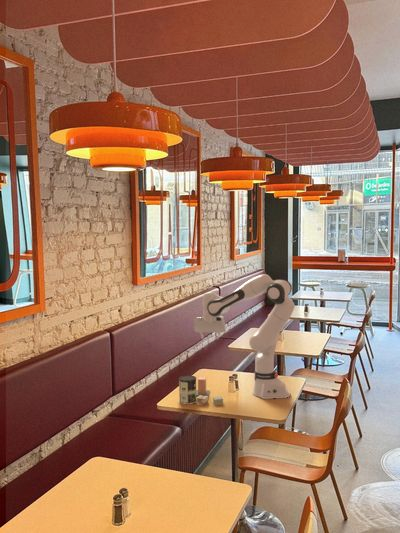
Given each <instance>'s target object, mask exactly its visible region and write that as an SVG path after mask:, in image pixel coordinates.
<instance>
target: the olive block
mask: <svg viewBox="0 0 400 533" xmlns="http://www.w3.org/2000/svg"><path fill="white" fill-rule="evenodd" d="M212 397H213V398H212V403H213V405H214V406H222V405H224V398H223V395H222V396H221V395H216V396H212Z"/></svg>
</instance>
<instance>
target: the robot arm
mask: <svg viewBox="0 0 400 533" xmlns="http://www.w3.org/2000/svg"><path fill="white" fill-rule="evenodd" d="M292 287H293V286H292V284H291V282H290V281H288V280H286V279H283V278H282V279H281V278H275V279H274V280H273V279H272V277H270V275H268V274H266V273H263V274H259V275H258V276H255V277H252V278H251V279H249V280H247V281H245V282H244V283H243V284H242V285H240V286H239V287H238V288H237V289H235V290H234V291H233V292H231V293H229V294H227V295H225V296H221V295H219V294H218V293H216V292H215V291H209V292H206V293H204V294H203V297H202V308H203V310H202V316H201V317H197V316H196V317H195V318H193V331H194V332H195V333H199V335H200V337H201V340H204V339H205V336H204V335H203V333H217V334H218V335H216V337H215V338H216V340H219V338H220V335H221V333H225V332H226V330H227V325H226V322H225V320H224V319H225V318H224V316H223V315H222V314H225V313H228V312H229V311H230V310H231V308H232V305H234V304H237V303H240V302H244V301H249V300H253V299H256V298H257V297H260V296H262V295H263V294H265V293H266V296H267V298H268V299H269V300H270V301H271V302H272V303H273V304H274V306H273V308H272V309H271V311H270V313H269V315H268V316H267V318H266V319H265V320H264V321H263V323H262V324H261V325H260V326H259V328H257V330H256V331H255V332H254V334H253V335H252V336H251V337H250V339H249V340H248V341H249V347H250V349H252V350H253V351H255V352H257V353H256V356H255V358H254V359H255V360H254V361H255V362H254V363H255V364H254V366H255V370H254V373H253V374H254V377H253V378H254V387H253V389H252V390H253V392H252V395H253V396H255V397H259V398H261V399H263V400H270V399H271V400H272V399H273V398H276V399H288V398H290V397H291V392H290V390H288V389H287V386H286V384H285V382H284V381H283V380H281V379H280V378H279V377H278V376H279V374H278V373H277V370H274V368H275V367H274V365H275V364H274V363H275V362H274V359H275V353H276V347H277V344H278V342H279V337H280V336H279V334H280V332H282V331H283V329H284V327H285V326H286V324H287V322H288V321H289V320H290V318H291V316H292V314H293V312H294V310H295V305H296V304H295V303H294V301H293V300H292V299H291V298H290V297H289V295H290V294H291V292H292V289H293V288H292ZM289 396H290V397H289ZM287 397H288V398H287ZM273 400H274V399H273Z"/></svg>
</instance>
